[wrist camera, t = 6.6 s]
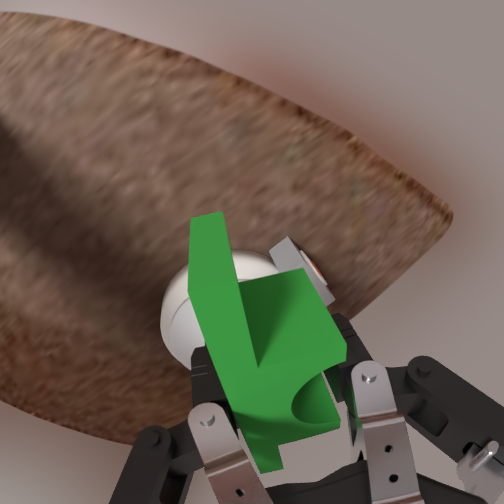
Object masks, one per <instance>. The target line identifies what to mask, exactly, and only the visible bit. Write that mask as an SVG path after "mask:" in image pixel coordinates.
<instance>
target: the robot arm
mask: <svg viewBox="0 0 504 504" xmlns="http://www.w3.org/2000/svg"><path fill="white" fill-rule="evenodd" d="M327 310H328V309H327ZM328 312H329V311H328ZM330 315H331V314H330ZM331 317H332V319H333V320H334V322H335V324H336V326H337V328H338V329H339V331H340V333H341V335H342V337H343V338H344V340H345V342H346V344H347V351H346V361H344V362H341V363H339V364H336V365H334V366H332V367H330V368H328V369H326V370H324V371H323V372H324V374H325V376H326V378H327V381H328V383H329V385H330V387H331V389H332V392H333V394H334V396H335V399H336V401H337V403H339V402H342V401H345V403H346V405H347V418H348V426H349V434H350V443H351V464H350V465H347V466H344V467H342V468H340V469H339V470H337V471H335V472H334V473H332V474H330V475H328V476H327V477H325V478H323V479H322V480H320V481H317V482H311V483H286V484H282V485H277V486H273V487H268V488H264V486H263V484H262V482H261V481H260V479H259V477H258V475H257V473H256V472H255V470H254V468H253V466H252V464H251V463H250V461H249V459H248V457H247V455H246V453H245V452H244V450H243V448H242V446H241V444H240V442H239V437H238V432H237V429H239V428H240V427H239V425H238V423H237V420H236V418H235V416H234V413H233V411H232V408H231V406H230V404H229V401H228V399H227V396H226V394H225V392H224V389H223V387H222V384H221V382H220V379H219V377H218V374H217V371H216V369H215V366H214V364H213V361H212V359H211V356H210V353H209V351H208V348H207V345H206V343H205V346H202V347H197V348H195V349H194V351H193V353H192V356H191V376H192V377H191V380H192V399H193V408H192V411H191V412H190V413H189V416H188V418H187V419H186V420H185V421H183V422H182V423H180V424H178V425H175V426H173V427H171V428H169V429H165V428H164V427H162V426H157V425H153V426H149V427H146V428H144V429H143V430H142V431H141V432H140V433H139V434H138V436H137V438H136V440H135V443H134V445H133V448H132V450H131V452H130V454H129V457H128V459H127V461H126V464H125V466H124V468H123V471H122V473H121V476H120V478H119V481H118V483H117V485H116V487H115V490H114V492H113V495H112V497H111V500H110V502H109V504H184V502H185V499H186V496H187V493H188V490H189V486H190V483H191V480H192V477H193V473H194V471H196V470H198V469H200V468H203V467H205V468H204V470H205V473H206V476H207V478H208V481H209V483H210V485H211V487H212V490H213V492H214V494H215V496H216V499H217V501H218V503H219V504H494V503H495V501H496V500H497V499H498V497H499V496H500V494H501V493H502V492H503V490H504V407H503V406H501V405H500V404H498V403H497V402H495V401H494V400H493V399H491V398H490V397H488V396H487V395H485V394H484V393H483V392H481V391H479V390H478V389H477V388H475V387H474V386H472V385H471V384H470V383H468V382H467V381H465V380H464V379H462V378H461V377H459V376H458V375H457V374H455V373H453V372H452V371H451V370H449V369H448V368H446V367H445V366H443V365H442V364H441V363H439V362H438V361H436V360H435V359H433V358H431V357H428V356H418V357H415V358H413V359H412V360H411V361H410V362H409V364H408V366H405V367H395V368H389V367H384V366H383V365H382V364H380V363H378V362H375V361H374V360H373V359H372V358H371V356H370V354H369V353H368V351H367V350H366V348H365V346H364V345H363V343H362V341H361V340H360V338H359V337H358V336H357V333H356V332H355V330H354V329H353V327H352V325H351V324H350V322H349V321H348V319H347V318H345V317H344V316H342V315H341V314H339V313H336V314H333V315H331ZM204 341H205V340H204ZM405 421H406V422H407V423H408V424H409V425H411V426H412V427H413V428H414V429H416V430H417V431H418V432H419V433H420V434H422V435H423V436H424V437H425V438H427V439H428V440H429V441H430V442H432V443H433V444H434V445H435V446H437V447H438V448H439V449H440V450H442V451H443V452H444V453H445V454H447V455H448V456H449V457H450V458H452V459H453V460H454V461H455V462H456V463H458V465H457V474H458V477H459V479H460V480H462V482H463V483H464V486H465V491H462V490H459V489H457V488H454V487H451V486H449V485H446V484H443V483H441V482H438V481H436V480H433V479H431V478H428V477H426V476H424V475H421V474H419V473H416V469H415V465H414V459H413V454H412V450H411V445H410V441H409V436H408V432H407V427H406V423H405Z"/></svg>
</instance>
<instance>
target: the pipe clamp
mask: <svg viewBox="0 0 504 504" xmlns="http://www.w3.org/2000/svg"><path fill="white" fill-rule="evenodd" d="M187 292H188V295H189V298H190V301H191V303H192V306H193V309H194V312H195V315H196V318H197V321H198V323H199V326H200V329H201V332H202V334H203V337H204V340H205V343H206V345H207V348H208V351H209V353H210V356H211V359H212V361H213V364H214V366H215V369H216V371H217V374H218V377H219V379H220V382H221V384H222V387H223V389H224V392H225V394H226V396H227V399H228V401H229V404H230V406H231V408H232V411H233V413H234V416H235V418H236V420H237V423H238V425H239V427H240V429H241V432H242V434H243V436H244V439H245V441H246V443H247V445H248V448H249V450H250V452H251V454H252V456H253V458H254V461H255V463H256V465H257V467H258V469H259V471H260V473H261V474H262V473H267V472H272V471H276V470H281V469H283V465H282V460H281V457H280V453H279V449H278V445H281V444H285V443H289V442H293V441H297V440H301V439H305V438H308V437H312V436H315V435H319V434H322V433H326V432H328V431H332V430H335V429H338V428H340V421H341V419H340V417H339V415H338V412H337V410H336V407H335V405H334V403H333V400H332V398H331V396H330V393H329V391H328V389H327V386H326V384H325V381H324V379H323V377H322V374H321V372H322V371H324V370H326V369H328V368H330V367H332V366H334V365H336V364H339V363H341V362H344V361H346V351H347V344H346V342H345V340H344V338H343V337H342V335H341V333H340V331H339V329H338V328H337V326H336V324H335V322H334V320H333V319H332V317H331V315H330V313H329V312H328V310H327V308H326V306H325V305H324V303H323V301H322V299H321V298H320V296H319V294H318V292H317V291H316V289H315V287H314V285H313V284H312V282H311V280H310V279H309V277H308V275H307V273H306V272H305V270H304V268H299V269H294V270H290V271H286V272H282V273H277V274H273V275H269V276H264V277H260V278H256V279H251V280H247V281H242V282H238V279H237V274H236V270H235V265H234V261H233V257H232V252H231V248H230V243H229V239H228V234H227V230H226V225H225V221H224V216H223V211H221V212H217V213H212V214H208V215H203V216H199V217H195V218H191V225H190V242H189V262H188V288H187Z"/></svg>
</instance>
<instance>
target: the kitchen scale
mask: <svg viewBox="0 0 504 504" xmlns="http://www.w3.org/2000/svg"><path fill="white" fill-rule="evenodd" d="M231 252H232V257H233V261H234V265H235V270H236V274H237V279H238V282H242V281H247V280H251V279H256V278H260V277H264V276H269V275H273V274H277V273H282V272H286V271H290V270H294V269H299V268H304V270H305V272H306V273H307V275H308V277H309V279H310V280H311V282H312V284H313V285H314V287H315V289H316V291H317V292H318V294H319V296H320V298H321V299H322V301H323V303H324V305H325V306H326V307H327V306H328V305H329V304H331V303H332V302H333V301H335V300H336V299H335V298H334V296H333V295H332V293H331V292H330V290H329V289H328V287H327V286H326V285H327V282H326V281H325V279H324V278H323V277H322V274H321V273H320V271H319V270H318V268H317V267H316V266H315V264H314V263H313V261H312V260H310V259H309V258H308V257H307V255H306V254H305V253H304V252H303V251H302V250H299V249H298V248H297V247H296V245H295V244H294V243H293V242H292V241H291V239H290V238H289V237H288V236H287V237H286V238H285V239H283V240H282V241H281V242H279V243H278V244H277V245H276V246H274V247H273V248H272V249H271V250H269V252H270V255H271V257H272V259H271V258H269V257H268V256H266V255H263V254H260V253H257V252H253V251H248V250H239V249H233V250H231ZM187 288H188V264H187V265H185V266H184V267H183V268H182V269H180V270H179V271H178V272H177V273H176V274H175V276H174V277H173V278H172V280H171V281H170V283H169V284H168V286H167V288H166V290H165V293H164V296H163V301H162V310H161V321H160V329H161V335H162V338H163V341H164V343H165V345H166V347H167V349H168V350H169V351H170V353H171V354H172V355H173V356H174V357H175V358H176V359H177V360H178V361H180V362H181V363H182V364H183V365H184V366H185V367H187V368H188V369H189V370H191V356H192V353H193V351H194V349H195V348H197V347H202V346H205V341H204V337H203V334H202V332H201V329H200V326H199V323H198V321H197V318H196V315H195V312H194V309H193V306H192V303H191V301H190V298H189V295H188V292H187Z"/></svg>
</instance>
